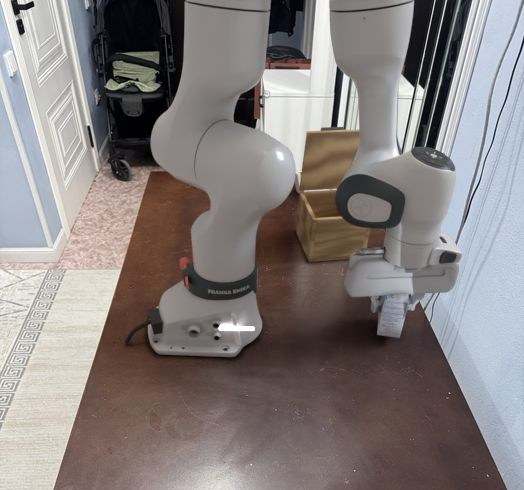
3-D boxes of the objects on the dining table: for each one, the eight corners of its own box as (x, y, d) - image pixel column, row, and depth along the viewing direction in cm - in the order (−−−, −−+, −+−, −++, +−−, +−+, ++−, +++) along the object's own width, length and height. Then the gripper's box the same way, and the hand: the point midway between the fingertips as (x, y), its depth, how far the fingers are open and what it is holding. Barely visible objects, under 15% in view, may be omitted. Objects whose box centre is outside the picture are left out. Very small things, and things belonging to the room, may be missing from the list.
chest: (364, 257, 118) (372, 216, 110) (308, 262, 116) (312, 219, 108) (348, 228, 128) (354, 188, 120) (296, 232, 126) (299, 191, 118)
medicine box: (399, 339, 94) (410, 303, 88) (375, 335, 95) (384, 299, 89) (399, 314, 100) (409, 278, 94) (377, 310, 100) (386, 275, 95)
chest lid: (368, 130, 108) (362, 118, 111) (307, 133, 106) (302, 120, 109) (355, 188, 120) (349, 175, 122) (299, 190, 118) (295, 178, 121)
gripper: (355, 259, 82) (343, 323, 91) (471, 254, 84) (448, 317, 94) (346, 239, 87) (335, 302, 96) (456, 235, 89) (435, 297, 98)
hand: (392, 309), depth 95 cm, fingers closed on medicine box, 5 cm apart
